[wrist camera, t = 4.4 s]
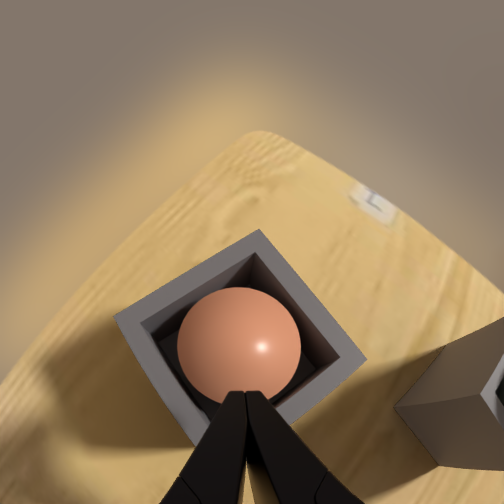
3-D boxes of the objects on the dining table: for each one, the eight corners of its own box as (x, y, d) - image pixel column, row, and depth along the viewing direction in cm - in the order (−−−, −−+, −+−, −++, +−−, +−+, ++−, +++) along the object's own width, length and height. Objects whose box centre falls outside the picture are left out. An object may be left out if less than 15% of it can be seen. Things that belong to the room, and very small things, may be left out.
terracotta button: (225, 426, 12) (224, 429, 10) (166, 341, 14) (154, 327, 11) (308, 365, 14) (324, 356, 11) (248, 289, 15) (252, 266, 13)
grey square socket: (439, 465, 16) (526, 470, 8) (393, 407, 18) (480, 393, 10) (486, 401, 18) (568, 379, 10) (446, 344, 21) (527, 303, 13)
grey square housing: (221, 445, 17) (217, 473, 9) (159, 355, 19) (113, 316, 11) (310, 381, 19) (367, 359, 11) (246, 300, 21) (259, 228, 13)
